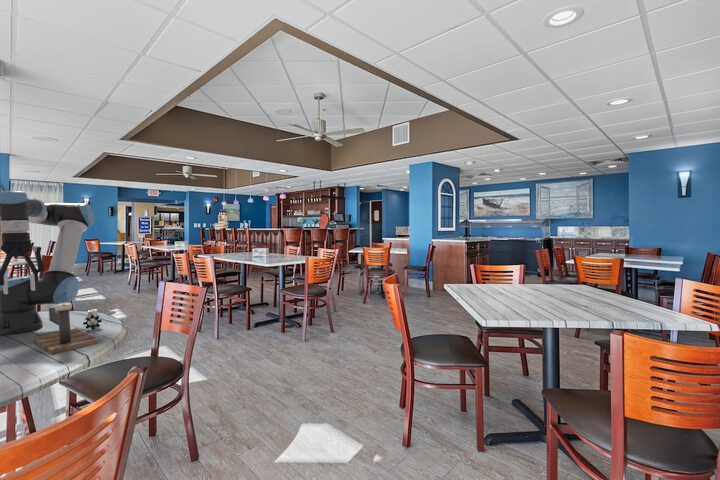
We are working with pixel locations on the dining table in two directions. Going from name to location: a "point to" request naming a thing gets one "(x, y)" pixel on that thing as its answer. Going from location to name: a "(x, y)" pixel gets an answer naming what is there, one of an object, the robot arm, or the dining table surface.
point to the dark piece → (62, 320)
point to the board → (54, 346)
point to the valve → (92, 319)
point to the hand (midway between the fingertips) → (19, 291)
